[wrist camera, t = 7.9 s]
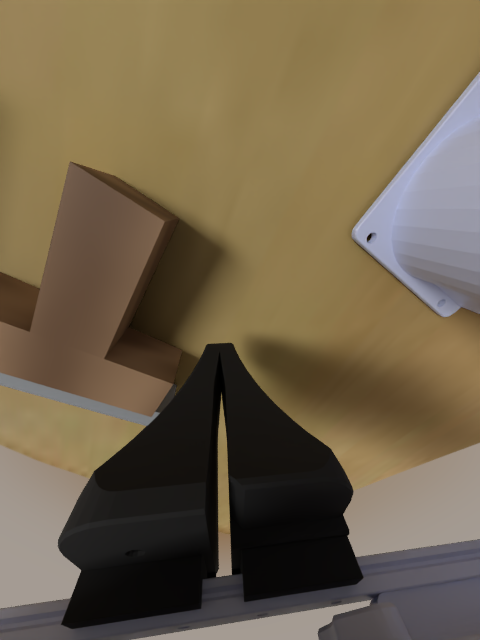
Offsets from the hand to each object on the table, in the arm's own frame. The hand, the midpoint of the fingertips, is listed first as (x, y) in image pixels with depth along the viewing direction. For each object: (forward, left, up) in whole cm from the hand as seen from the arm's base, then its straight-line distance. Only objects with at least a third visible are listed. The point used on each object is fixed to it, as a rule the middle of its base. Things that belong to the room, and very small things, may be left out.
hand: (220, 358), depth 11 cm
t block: (+6, 0, -3) cm, 7 cm away
